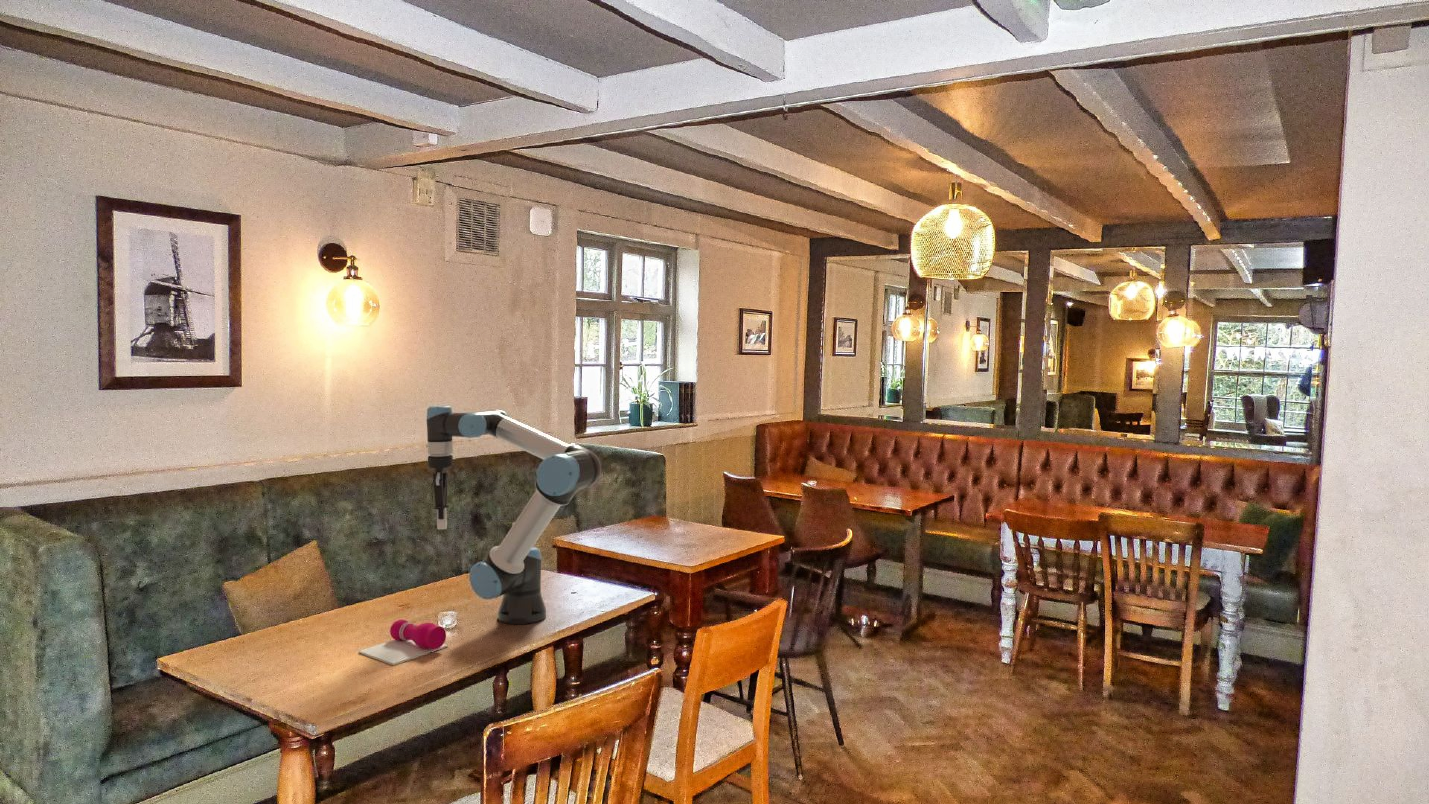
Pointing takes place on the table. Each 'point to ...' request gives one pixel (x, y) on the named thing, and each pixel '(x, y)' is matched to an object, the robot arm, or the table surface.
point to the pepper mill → (419, 634)
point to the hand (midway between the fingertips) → (442, 528)
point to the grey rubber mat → (397, 651)
